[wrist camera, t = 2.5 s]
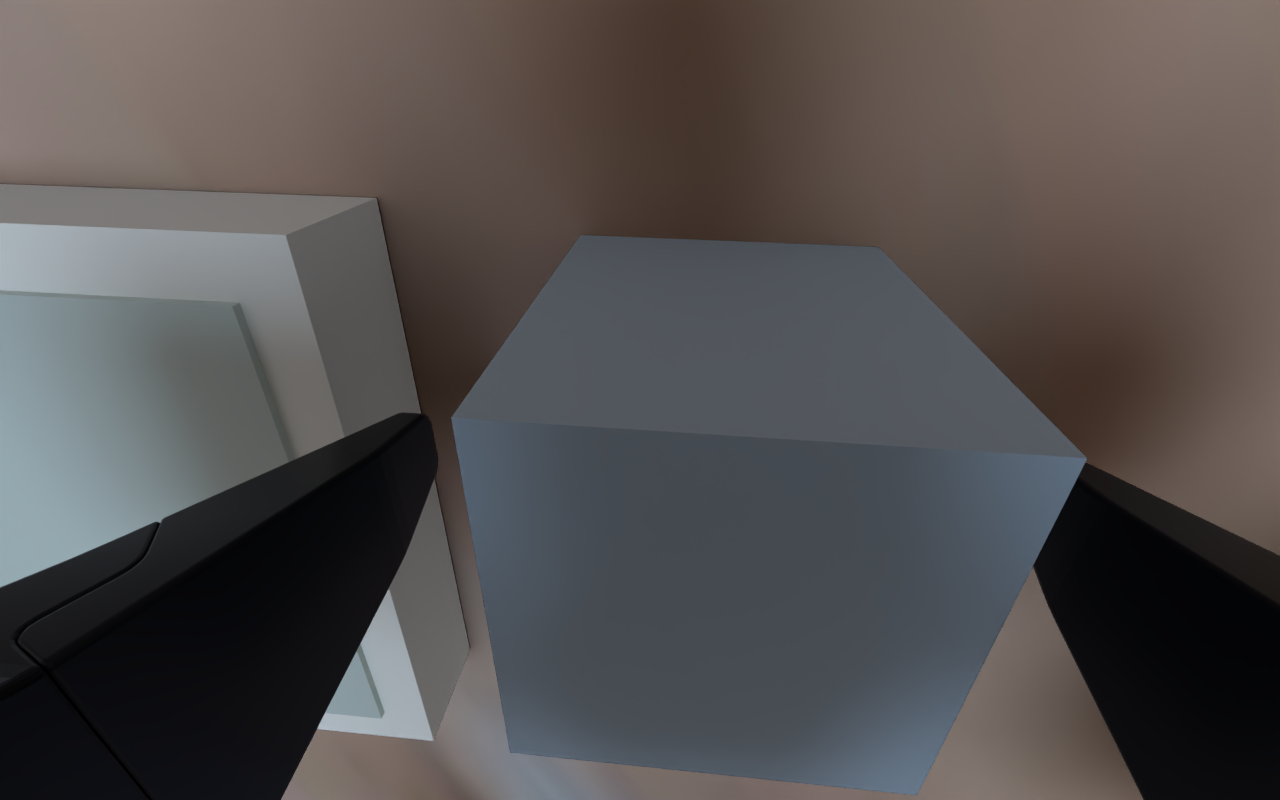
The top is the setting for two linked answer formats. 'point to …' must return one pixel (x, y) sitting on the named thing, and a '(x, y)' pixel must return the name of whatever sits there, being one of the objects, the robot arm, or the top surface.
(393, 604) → the base
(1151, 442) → the top surface
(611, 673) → the block
